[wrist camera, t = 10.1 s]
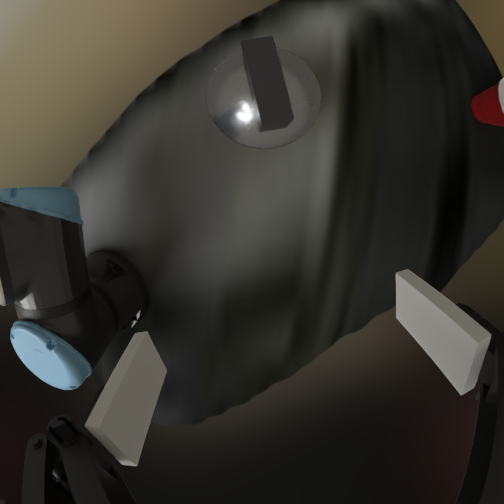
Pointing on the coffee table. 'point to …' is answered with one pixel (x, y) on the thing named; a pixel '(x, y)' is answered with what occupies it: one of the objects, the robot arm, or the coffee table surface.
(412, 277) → the robot arm
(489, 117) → the plastic cup
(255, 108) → the steel lid
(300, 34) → the coffee table surface
